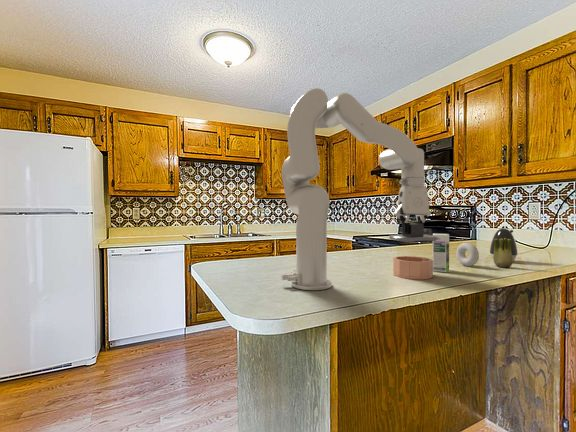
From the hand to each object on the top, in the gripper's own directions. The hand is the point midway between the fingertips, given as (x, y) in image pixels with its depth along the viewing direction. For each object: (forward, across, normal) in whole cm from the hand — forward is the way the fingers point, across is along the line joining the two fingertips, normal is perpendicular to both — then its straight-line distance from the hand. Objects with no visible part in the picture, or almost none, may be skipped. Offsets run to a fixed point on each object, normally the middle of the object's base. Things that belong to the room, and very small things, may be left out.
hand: (412, 233), depth 104 cm
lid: (+2, 0, 0) cm, 2 cm away
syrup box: (+16, +16, +4) cm, 22 cm away
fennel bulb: (+16, +46, +3) cm, 48 cm away
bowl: (+15, 0, 0) cm, 15 cm away
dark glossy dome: (+16, +60, +14) cm, 63 cm away
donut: (+16, +34, +9) cm, 38 cm away
